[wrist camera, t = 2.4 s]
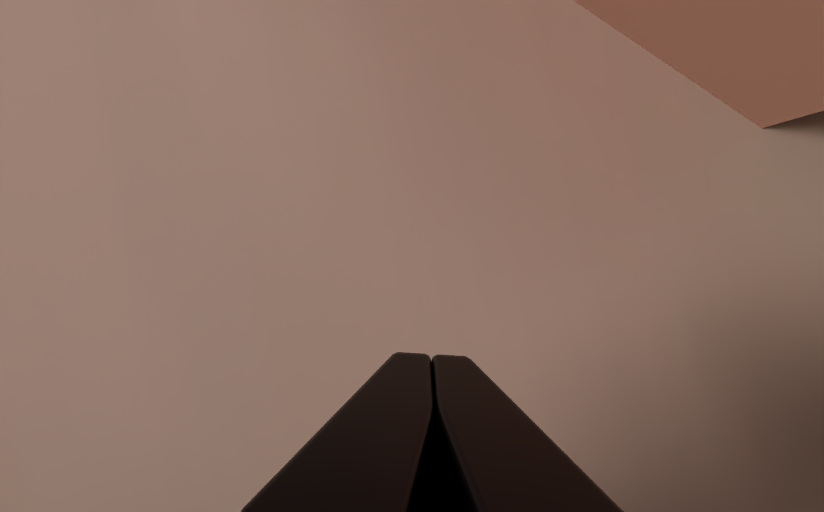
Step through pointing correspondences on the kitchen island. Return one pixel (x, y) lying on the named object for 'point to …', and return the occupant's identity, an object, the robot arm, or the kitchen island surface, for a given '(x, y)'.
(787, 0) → the terracotta block
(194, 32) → the kitchen island surface
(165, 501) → the kitchen island surface
